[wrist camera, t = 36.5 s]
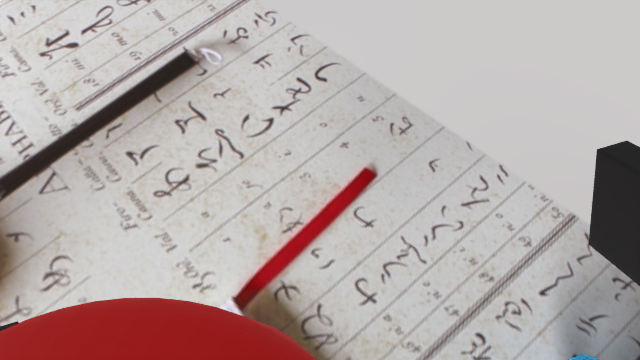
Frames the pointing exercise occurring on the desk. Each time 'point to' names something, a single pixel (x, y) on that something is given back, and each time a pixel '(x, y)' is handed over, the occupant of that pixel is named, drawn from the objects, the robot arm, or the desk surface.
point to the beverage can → (146, 334)
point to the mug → (583, 358)
